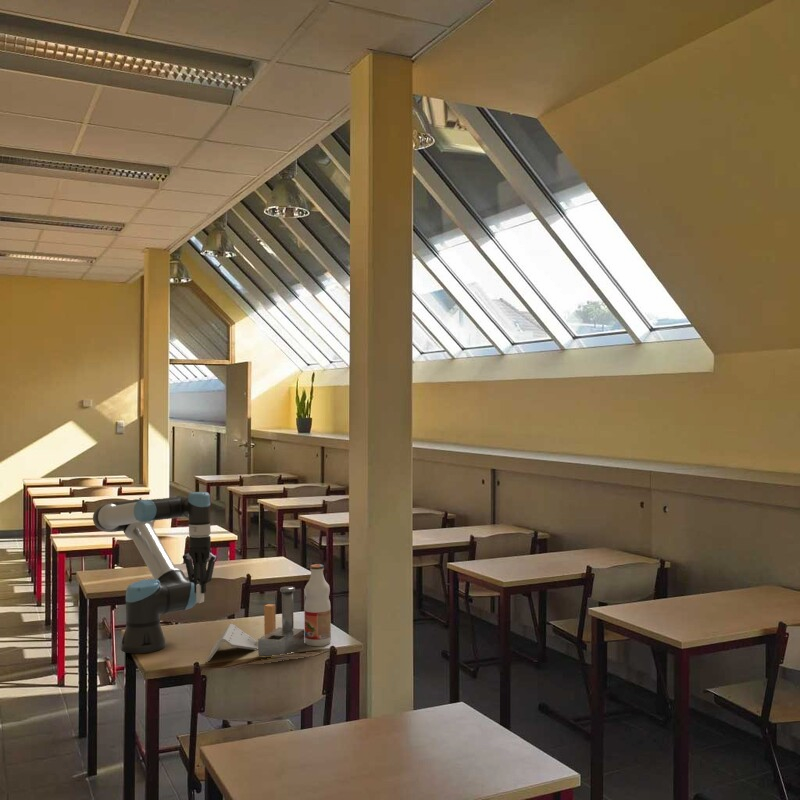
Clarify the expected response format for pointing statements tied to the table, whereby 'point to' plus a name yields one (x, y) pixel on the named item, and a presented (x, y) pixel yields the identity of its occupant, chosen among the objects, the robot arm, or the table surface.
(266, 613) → the tan wooden beam
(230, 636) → the bracket
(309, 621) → the fruit juice
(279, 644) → the grey post stand
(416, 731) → the table surface
